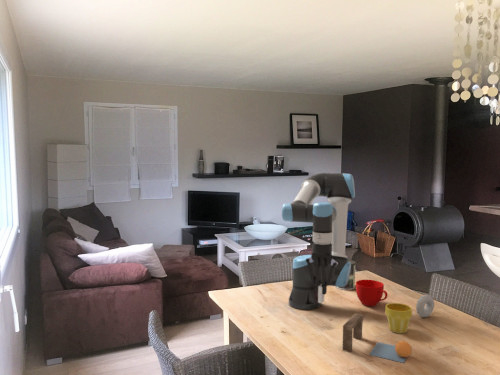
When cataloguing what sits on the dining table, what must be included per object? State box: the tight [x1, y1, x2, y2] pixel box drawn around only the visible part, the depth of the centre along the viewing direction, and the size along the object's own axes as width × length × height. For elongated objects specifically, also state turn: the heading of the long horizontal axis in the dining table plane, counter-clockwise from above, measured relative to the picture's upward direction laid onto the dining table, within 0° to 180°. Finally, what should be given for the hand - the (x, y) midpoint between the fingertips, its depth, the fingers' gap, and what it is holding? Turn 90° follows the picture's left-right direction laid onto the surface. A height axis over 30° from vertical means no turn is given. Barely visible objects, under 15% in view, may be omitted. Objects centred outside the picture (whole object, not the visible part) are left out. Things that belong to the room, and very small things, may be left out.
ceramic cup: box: [355, 279, 388, 307], centre depth 208 cm, size 13×17×10 cm
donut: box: [415, 294, 435, 318], centre depth 193 cm, size 10×4×10 cm, turn 120°
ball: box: [394, 340, 412, 358], centre depth 156 cm, size 6×6×6 cm
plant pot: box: [385, 302, 413, 334], centre depth 179 cm, size 10×10×10 cm
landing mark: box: [369, 341, 408, 364], centre depth 159 cm, size 12×12×1 cm
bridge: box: [342, 313, 364, 352], centre depth 166 cm, size 3×14×9 cm, turn 149°
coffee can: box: [335, 259, 357, 291], centre depth 235 cm, size 10×10×14 cm
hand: (321, 301), depth 172 cm, fingers closed
